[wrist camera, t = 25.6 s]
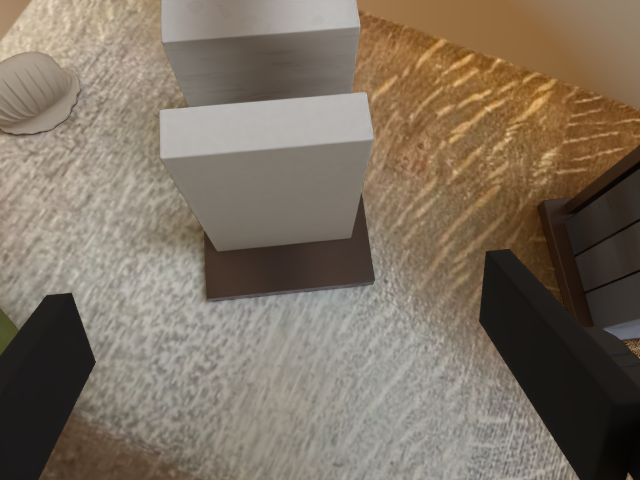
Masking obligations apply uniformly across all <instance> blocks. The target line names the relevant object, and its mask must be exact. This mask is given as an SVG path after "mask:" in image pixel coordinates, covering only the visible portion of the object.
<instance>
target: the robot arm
mask: <svg viewBox="0 0 640 480" xmlns="http://www.w3.org/2000/svg"><path fill="white" fill-rule="evenodd" d="M479 322H480V323H481V325H482V327H483V328H484V330H485V331H486V333H487V334H488V336H489V338H490V339H491V341H492V342H493V344H494V345H495V347H496V349H497V350H498V352H499V353H500V355H501V356H502V358H503V360H504V361H505V363H506V364H507V366H508V367H509V369H510V371H511V372H512V374H513V375H514V377H515V378H516V380H517V382H518V383H519V385H520V386H521V388H522V389H523V391H524V393H525V394H526V396H527V397H528V399H529V400H530V402H531V404H532V405H533V407H534V408H535V410H536V411H537V413H538V415H539V416H540V418H541V419H542V421H543V422H544V424H545V426H546V427H547V429H548V430H549V432H550V433H551V435H552V437H553V438H554V440H555V441H556V443H557V444H558V446H559V447H560V449H561V451H562V452H563V454H564V455H565V457H566V458H567V460H568V462H569V463H570V465H571V466H572V468H573V469H574V471H575V473H576V474H577V476H578V477H579V479H580V480H626V477H627V474H628V472H629V474H630V475H631V476H632V478H633V479H634V480H640V359H639V358H638V357H637V356H636V355H635V354H634V353H631V350H630V349H629V348H628V347H627V346H626V345H625V344H624V343H623V342H622V341H621V340H620V339H619V338H618V337H617V336H615V335H613V334H611V333H609V332H608V331H606V330H604V329H602V328H601V327H599V326H593V327H584V328H583V327H582V326H581V325H580V324H579V323H578V322H577V321H576V320H575V319H574V317H573V316H572V315H571V314H570V313H569V312H568V311H567V310H566V309H565V308H564V307H563V306H562V305H561V304H560V303H559V302H558V300H557V299H556V298H555V297H554V296H553V295H552V294H551V293H550V292H549V291H548V290H547V289H546V288H545V287H544V286H543V285H542V283H541V282H540V281H539V280H538V279H537V278H536V277H535V276H534V275H533V274H532V273H531V272H530V271H529V270H528V269H527V268H526V266H525V265H524V264H523V263H522V262H521V261H520V260H519V259H518V258H517V257H516V256H515V255H514V254H513V253H512V252H511V250H510V249H505V250H495V251H486V256H485V267H484V277H483V287H482V297H481V308H480V318H479ZM95 363H96V361H95V359H94V356H93V353H92V350H91V347H90V344H89V341H88V338H87V336H86V333H85V330H84V327H83V324H82V321H81V318H80V315H79V313H78V310H77V307H76V304H75V301H74V298H73V295H72V293H65V294H55V295H46V297H45V298H44V299H43V300H42V302H41V303H40V304H39V306H38V307H37V308H36V310H35V311H34V312H33V313H32V315H31V316H30V317H29V319H28V320H27V321H26V323H25V324H24V325H23V326H22V328H21V329H20V330H19V332H18V333H17V334H16V336H15V337H14V338H13V339H12V341H11V342H10V343H9V345H8V346H7V347H6V349H5V350H4V351H3V353H2V354H1V355H0V480H38V479H39V477H40V475H41V473H42V471H43V469H44V467H45V465H46V463H47V461H48V459H49V457H50V454H51V452H52V450H53V448H54V446H55V444H56V442H57V440H58V438H59V436H60V434H61V432H62V430H63V428H64V426H65V424H66V422H67V420H68V418H69V416H70V414H71V412H72V410H73V408H74V406H75V404H76V401H77V399H78V397H79V395H80V393H81V391H82V389H83V387H84V385H85V383H86V381H87V379H88V377H89V375H90V373H91V371H92V369H93V367H94V365H95Z"/></svg>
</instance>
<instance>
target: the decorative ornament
mask: <svg viewBox="0 0 640 480" xmlns="http://www.w3.org/2000/svg"><path fill="white" fill-rule="evenodd" d="M80 89H81V88H80V84H79V79H78V76H77V75H76V74H75V73H74V71H72V70H71V69H70V68H61V67H60V66H59V65H58V64H57V63H56V62H55V60H54V59H53V58H52V57H50V56H49V55H47V54H44V53H40V52H25V53H21V54H18V55H15V56H12V57H10V58H8V59H6V60H3V61H2V62H0V129H1V130H2V131H4V132H6V133H13V134H16V135H20V134H25V133H26V134H35V133H38V132H44V131H50V130H52V129H54V128H55V127H56V126H57V125H58V124H60V123H62V122H64V121H65V120H66V119H67V118H68V117H69V116H70V113H71V109H72V107H73V106H74V105H75V104H76V103H77V95H78V93H79V92H80Z"/></svg>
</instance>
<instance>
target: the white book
mask: <svg viewBox="0 0 640 480" xmlns="http://www.w3.org/2000/svg"><path fill="white" fill-rule="evenodd" d="M373 141H374V135H373V129H372V123H371V117H370V111H369V105H368V99H367V94H366V92H361V93H349V94H338V95H326V96H315V97H303V98H291V99H280V100H268V101H257V102H245V103H233V104H222V105H210V106H199V107H187V108H175V109H164V110H160V111H159V147H160V160H161V161H162V163H163V165H164V166H165V168H166V169H167V171H168V173H169V174H170V176H171V177H172V179H173V181H174V182H175V184H176V185H177V187H178V189H179V190H180V192H181V194H182V195H183V197H184V198H185V200H186V202H187V203H188V205H189V206H190V208H191V210H192V211H193V213H194V215H195V216H196V218H197V219H198V221H199V223H200V224H201V226H202V227H203V229H204V231H205V232H206V234H207V236H208V237H209V239H210V240H211V242H212V244H213V245H214V247H215V248H216V250H217V251H228V250H238V249H248V248H258V247H268V246H278V245H288V244H298V243H307V242H317V241H327V240H337V239H347V238H351V235H352V231H353V226H354V222H355V218H356V214H357V209H358V205H359V201H360V196H361V192H362V188H363V184H364V179H365V175H366V171H367V167H368V162H369V158H370V154H371V149H372V145H373Z"/></svg>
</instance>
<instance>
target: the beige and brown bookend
mask: <svg viewBox="0 0 640 480" xmlns="http://www.w3.org/2000/svg"><path fill="white" fill-rule="evenodd" d="M359 34H360V21H359V15H358V9H357V3H356V0H162V1H161V42H162V45H163V47H164V49H165V52H166V54H167V57H168V59H169V61H170V64H171V66H172V69H173V71H174V73H175V76H176V78H177V81H178V83H179V85H180V88H181V90H182V93H183V95H184V97H185V100H186V102H187V105H188V107H199V106H210V105H222V104H233V103H245V102H257V101H268V100H280V99H291V98H303V97H315V96H326V95H338V94H349V93H352V88H353V81H354V73H355V65H356V57H357V49H358V42H359ZM204 243H205V270H206V296H207V299H208V300H209V301H210V302H211V301H221V300H230V299H240V298H249V297H259V296H268V295H278V294H287V293H297V292H306V291H316V290H325V289H335V288H344V287H354V286H364V285H372V284H373V283H374V281H375V278H374V271H373V265H372V258H371V251H370V245H369V238H368V231H367V225H366V218H365V211H364V205H363V198H362V192H361V196H360V201H359V205H358V209H357V214H356V218H355V222H354V226H353V231H352V235H351V238H347V239H337V240H327V241H317V242H307V243H298V244H288V245H278V246H268V247H258V248H248V249H238V250H228V251H217V250H216V248H215V247H214V245H213V244H212V242H211V240H210V239H209V237H208V236H207V234H206V232H205V231H204Z"/></svg>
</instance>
